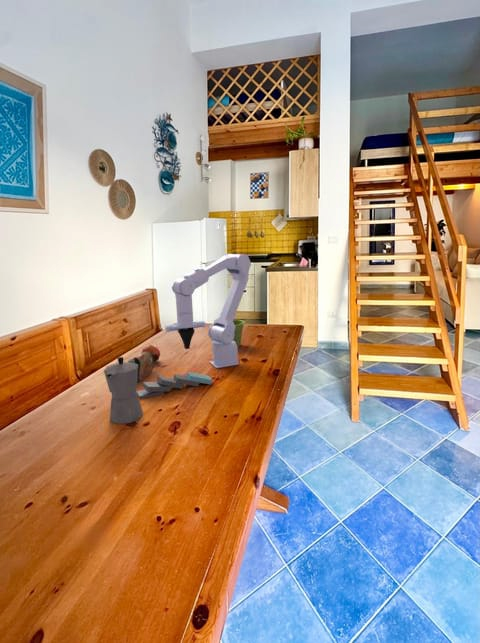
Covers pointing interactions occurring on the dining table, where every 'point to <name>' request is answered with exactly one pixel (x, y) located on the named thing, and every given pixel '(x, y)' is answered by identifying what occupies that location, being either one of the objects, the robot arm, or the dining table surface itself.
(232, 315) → the robot arm
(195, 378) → the teal domino
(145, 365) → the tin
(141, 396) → the domino
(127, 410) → the coffeepot
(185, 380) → the domino
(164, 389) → the domino
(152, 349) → the pomegranate
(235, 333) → the plant pot
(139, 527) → the dining table surface
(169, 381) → the domino
